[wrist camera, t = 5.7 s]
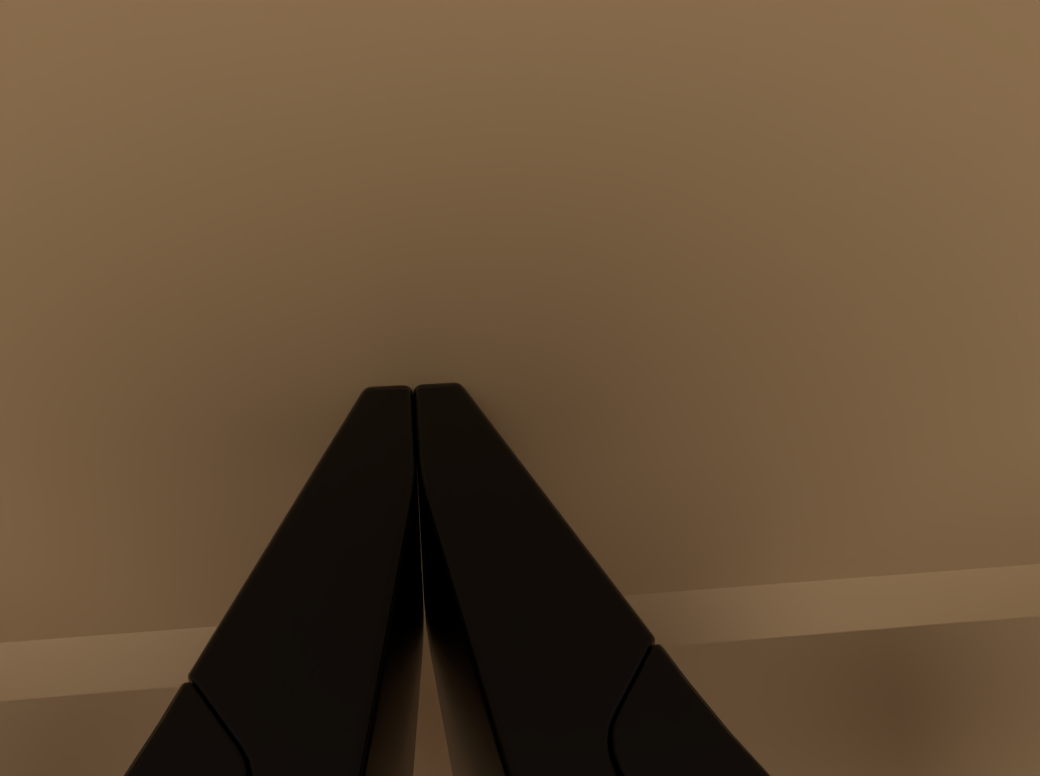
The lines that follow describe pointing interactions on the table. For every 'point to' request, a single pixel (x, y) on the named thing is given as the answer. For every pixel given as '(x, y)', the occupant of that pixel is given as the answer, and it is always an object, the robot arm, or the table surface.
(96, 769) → the carton
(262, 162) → the carton flap
